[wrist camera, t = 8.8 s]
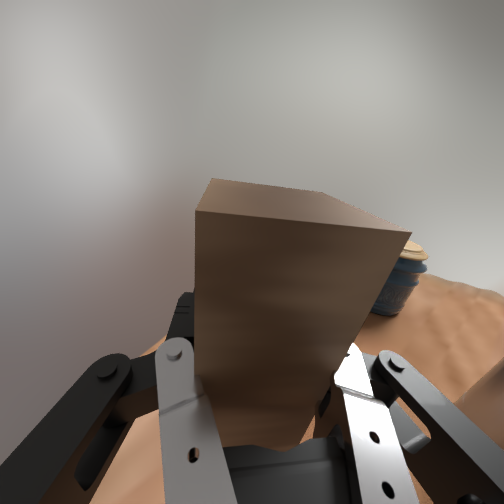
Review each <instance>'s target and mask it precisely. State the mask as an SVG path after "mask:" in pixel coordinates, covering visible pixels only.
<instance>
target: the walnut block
mask: <svg viewBox="0 0 504 504" xmlns="http://www.w3.org/2000/svg"><path fill="white" fill-rule="evenodd" d="M411 234H412V232H410V231H408V230H406V229H404V228H402V227H399V226H397V225H395V224H392V223H390V222H388V221H386V220H383V219H381V218H379V217H376V216H374V215H371V214H370V213H368V212H365V211H363V210H361V209H358V208H356V207H354V206H351V205H349V204H347V203H345V202H343V201H340V200H338V199H336V198H333V197H331V196H329V195H327V194H324V193H322V192H315V191H308V190H299V189H292V188H284V187H277V186H268V185H260V184H253V183H245V182H238V181H230V180H222V179H214V178H212V179H211V181H210V183H209V185H208V187H207V189H206V191H205V193H204V194H203V197H202V198H201V200H200V202H199V204H198V207H197V208H196V210H195V307H194V375H200V379H201V383H202V386H203V390H204V393H205V394H207V396H208V398H209V401H210V404H211V408H212V412H213V415H214V419H215V423H216V426H217V430H218V434H219V437H220V441H221V445H222V447H230V446H241V445H252V444H253V445H256V446H260V447H264V448H268V449H272V450H276V451H280V452H286V451H288V450H290V449H292V448H294V447H295V446H297V445H299V443H300V441H301V439H302V437H303V436H304V434H305V432H306V430H307V428H308V426H309V424H310V422H311V421H312V419H313V417H314V415H315V405H316V403H317V401H318V400H323V398H324V396H325V394H326V393H327V391H328V389H329V387H330V376H331V374H332V372H333V370H339V368H340V366H341V365H342V363H343V361H344V359H345V357H346V355H347V353H348V351H349V350H350V348H351V346H352V344H353V342H354V340H355V338H356V336H357V335H358V333H359V331H360V329H361V327H362V325H363V323H364V322H365V320H366V318H367V316H368V314H369V312H370V310H371V308H372V307H373V305H374V303H375V301H376V299H377V297H378V295H379V294H380V292H381V290H382V288H383V286H384V284H385V282H386V280H387V279H388V277H389V275H390V273H391V271H392V269H393V267H394V265H395V264H396V262H397V260H398V258H399V256H400V254H401V252H402V251H403V249H404V247H405V245H406V243H407V241H408V239H409V237H410V236H411Z"/></svg>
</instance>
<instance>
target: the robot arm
mask: <svg viewBox="0 0 504 504" xmlns="http://www.w3.org/2000/svg"><path fill="white" fill-rule="evenodd" d="M194 307H195V288H194V292H193V293H190V292H185V293H184V294H183V295H182V296H181V297H180V298H179V299H178V303H177V306H176V309H175V312H174V315H173V318H172V321H171V325H170V328H169V331H168V334H167V337H166V340H165V342H163V343H162V344H161V345H160V346H159V347H158V349H157V350H156V351H154V352H152V353H150V354H148V355H145V356H142V357H138V358H135V359H131V360H130V359H129V358H128V357H127V356H126V355H124V354H119V353H118V354H110V355H107V356H105V357H102V358H100V359H99V360H97V361H96V362H95V363H93V364H92V365H91V366H90V367H89V368H88V369H87V370H86V371H85V372H84V373H83V375H82V376H81V377H80V378H79V379H78V380H77V381H76V382H75V383H74V385H73V386H72V387H71V388H70V389H69V390H68V391H67V392H66V394H65V395H64V396H63V397H62V398H61V399H60V400H59V401H58V402H57V403H56V405H55V406H54V407H53V408H52V409H51V410H50V412H48V414H47V415H46V416H45V417H44V418H43V419H42V420H41V421H40V423H39V424H38V425H37V426H36V427H35V428H34V429H33V430H32V431H31V432H30V433H29V435H28V436H27V437H26V438H25V439H24V440H23V441H22V442H21V444H20V445H19V446H18V447H17V448H16V449H15V450H14V451H13V452H12V453H11V455H10V456H9V457H8V458H7V459H6V460H5V461H4V462H3V464H2V465H1V466H0V504H89V503H90V501H91V499H92V497H93V496H94V494H95V492H96V490H97V488H98V487H99V485H100V483H101V481H102V479H103V477H104V476H105V474H106V472H107V470H108V468H109V466H110V465H111V463H112V461H113V459H114V457H115V455H116V454H117V452H118V450H119V448H120V446H121V444H122V443H123V441H124V439H125V437H126V435H127V433H128V432H129V430H130V428H131V426H132V424H133V422H134V421H135V419H136V418H138V417H140V416H143V415H145V414H148V413H150V412H152V411H155V410H157V409H159V425H160V438H161V451H162V464H163V478H164V491H165V504H420V503H419V500H418V497H417V494H416V491H415V488H414V486H413V483H412V480H411V477H410V474H409V471H408V468H409V470H410V471H411V472H412V474H413V475H414V476H415V478H416V479H417V481H418V482H419V483H420V485H421V486H422V487H423V489H424V490H425V491H426V493H427V494H428V496H429V497H430V498H431V500H432V501H433V502H434V504H504V358H503V359H502V360H501V361H499V362H498V363H497V364H496V365H495V366H494V367H493V368H492V369H491V370H490V371H489V372H487V373H486V374H485V375H484V376H483V377H482V378H481V379H480V380H479V381H478V382H477V383H476V384H474V385H473V386H472V387H471V388H470V389H469V390H468V391H467V392H465V393H464V394H463V395H462V396H461V397H460V398H459V399H458V400H457V401H456V402H455V403H454V404H453V403H452V402H451V401H450V400H448V399H447V398H446V397H445V396H444V395H443V394H442V393H441V392H440V391H439V390H438V389H437V388H436V387H434V386H433V385H432V384H431V383H430V382H429V381H428V380H427V379H426V378H425V377H424V376H423V375H421V374H420V373H419V372H418V371H417V370H416V369H415V368H414V367H413V366H412V365H411V364H410V363H409V362H407V361H406V360H405V359H404V358H403V357H401V356H400V355H398V354H396V353H394V352H392V351H388V350H383V351H381V352H380V353H379V355H378V356H373V355H370V354H366V353H363V352H360V351H359V349H358V348H357V347H356V346H355V345H354V344H352V346H351V348H350V350H349V351H348V353H347V355H346V357H345V359H344V361H343V363H342V365H341V366H340V368H339V370H333V372H332V374H331V376H330V387H329V389H328V391H327V393H326V394H325V396H324V398H323V400H318V401H317V403H316V405H315V428H314V433H313V439H309V440H307V441H305V442H303V443H301V444H299V445H297V446H295V447H294V448H292V449H290V450H288V451H286V452H280V451H276V450H272V449H268V448H264V447H260V446H256V445H253V444H252V445H241V446H230V447H222V445H221V441H220V437H219V434H218V430H217V426H216V423H215V419H214V415H213V412H212V408H211V404H210V401H209V398H208V396H207V394H205V393H204V390H203V386H202V383H201V379H200V375H194ZM398 397H400V398H401V399H402V400H403V401H404V402H405V403H406V404H407V406H408V407H409V408H410V409H411V410H412V411H413V412H414V413H415V414H416V416H417V417H418V418H419V419H420V420H421V421H422V422H423V423H424V424H425V426H426V427H427V428H428V430H429V432H430V434H431V439H430V438H428V437H427V436H426V435H425V434H424V433H423V432H422V431H421V430H420V429H419V428H418V427H417V425H416V424H415V423H414V422H413V421H412V420H411V418H410V417H409V416H408V415H407V414H406V413H405V412H404V410H403V409H402V408H401V407H400V406H399V405H398V403H397V402H396V399H397V398H398ZM407 467H408V468H407Z"/></svg>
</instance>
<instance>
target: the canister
mask: <svg viewBox="0 0 504 504" xmlns="http://www.w3.org/2000/svg"><path fill="white" fill-rule="evenodd" d="M426 259H428V255H427V254H426V253H425V252H424V251H423V249H422V247H421V246H419V245H418V244H416V243H413V242H411V241H409V240H408V241H407V243H406V245H405V247H404V249H403V251H402V252H401V254H400V256H399V258H398V260H397V262H396V264H395V265H394V267H393V269H392V271H391V273H390V275H389V277H388V279H387V280H386V282H385V284H384V286H383V288H382V290H381V292H380V294H379V295H378V297H377V299H376V301H375V303H374V305H373V307H372V308H371V310H370V311H371V312H373V313H376V314H380V315H387V316H391V315H396V314H397V313H398V312H399V311H401V310H402V309H403V307H404V306H405V302H406V300H407V299H408V297H409V296H410V294H411V292H412V291H413V289H414V288H415V286H417V285H418V283H419V280H418V278H419V276H420V274H421V273H424V272H426V271H427V266H426V265H425V263H424V262H423V260H426Z"/></svg>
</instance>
